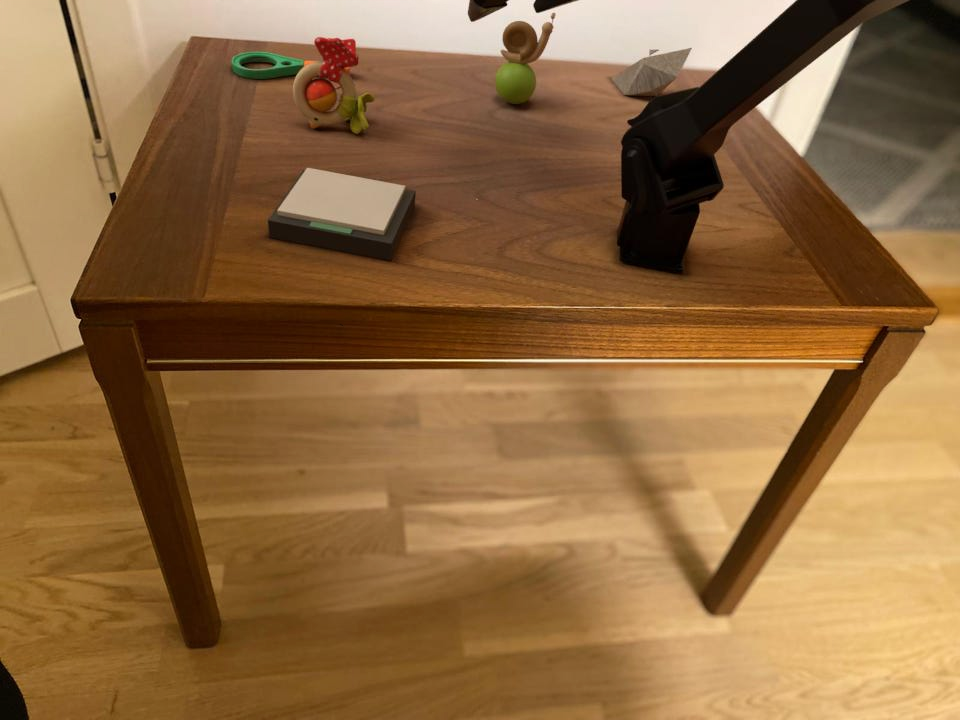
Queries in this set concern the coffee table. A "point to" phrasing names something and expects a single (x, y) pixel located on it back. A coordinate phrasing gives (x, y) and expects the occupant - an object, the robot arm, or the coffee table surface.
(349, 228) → the scale
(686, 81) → the coffee table surface
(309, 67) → the bird rattle
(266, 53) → the magnifying glass
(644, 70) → the paper boat
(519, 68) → the snail figurine
